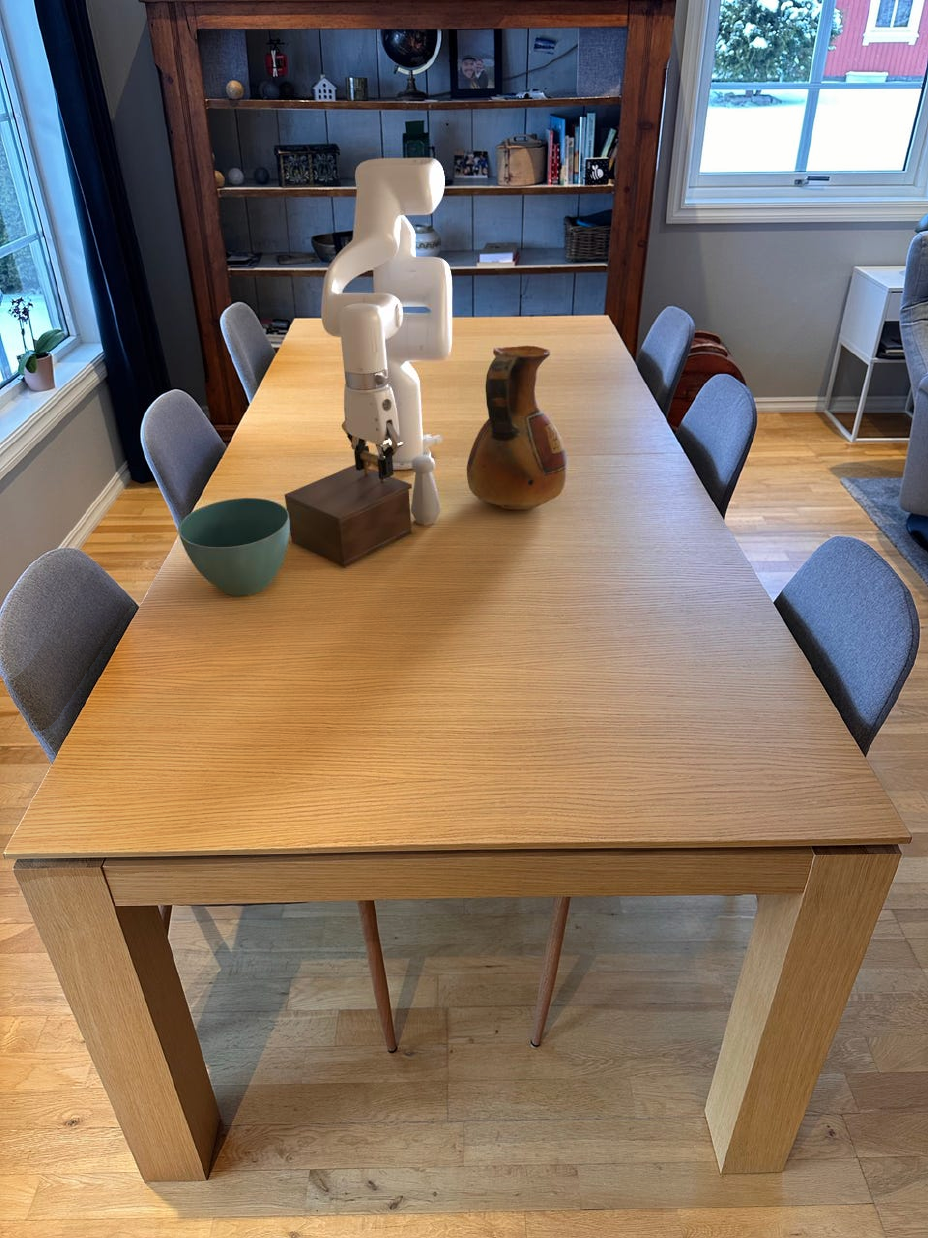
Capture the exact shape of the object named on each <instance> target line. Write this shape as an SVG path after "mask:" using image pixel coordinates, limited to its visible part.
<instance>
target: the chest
mask: <svg viewBox="0 0 928 1238" xmlns="http://www.w3.org/2000/svg"><path fill="white" fill-rule="evenodd" d="M284 501H285V508H286V509H287V511H288V513H289V521H290V532H289V536H290V541H291V543H292V544H294V545H296V546H298V547H301V548H303V549H304V550H307V551H309V552H311V553H313V554H315V555H318V556H319V557H322V558H323V559H325V560H327V561H329V562H332V563H334V564H336V565H338V566H340V567H342V568H346V567H349V566H350V565H353V564H354V563H356V562H359V561H360V560H362V559H364V558H366V557H368V556H369V555H372V554H374V553H375V552H378V551H380V550H382V549H384V548H386V547H387V546H390V545H391V544H394V543H395V542H397V541H399V540H401V539H403V538H406V537H408V536H410V535H411V534H413V533H412V532H413V531H412V519H411V517H412V516H411V504H410V503H411V501H410V489H409V490H407V491H405V492H402V493H400V494H398V495H396V496H394V497H392V498H390V499H388V500H385V501H383V502H381V503H379V504H377V505H375V506H373V507H371V508H369V509H366V510H364V511H362V512H360V513H358V514H356V515H354V516H352V517H349V518H347V519H345V520H343V521H341V522H337V521H335V520H333V519H331V518H328V517H326V516H324V515H321V514H319V513H317V512H315V511H312V510H310V509H308V508H306V507H303V506H301V505H299V504H296V503H294V502H292V501H290V500H287V499H285V498H284Z"/></svg>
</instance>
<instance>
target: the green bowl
mask: <svg viewBox="0 0 928 1238" xmlns="http://www.w3.org/2000/svg"><path fill="white" fill-rule="evenodd" d="M177 531H178V535H179V539H180V541H181V544H182V546H183V548H184V551H185V553H186V555H187V557H188V558H189V560H190V562H191V564H193V566H194V567H195V569H196V570H197V571H198V572H199V574H200V575H201V576H202V577H203V578H204V579H205V580H206V581H208V582H209V583H210V585H212V586H214V587H215V588H217V589H219V591H222V592H223V593H225V594H227V595H229V596H235V597H246V596H252V595H254V594H258V593H260V592H262V591H264V590H265V589H266V588H267V587H269V585H270V584H272V582H273V580H275V578H276V576H277V575H278V573H279V572H280V570H281V568H282V566H283V563H284V561H285V558H286V555H287V553H288V552H287V551H288V547H289V542H290V521H289V513H288V511H287V508H286V506H284V505H282V504H280V503H279V502H277V501H274V500H270V499H265V498H259V497H240V498H239V497H238V498H232V499H226V500H225V499H224V500H220V501H217V502H213V503H209V504H207V505H205V506H201V507H199V508H198V509H195V510H194V511H191V512H190V513H189V514H188V515H186V516H185V517H184V518H183V519H182V520H181V521H180V523H179V525H178V529H177Z"/></svg>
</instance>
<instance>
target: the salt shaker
mask: <svg viewBox="0 0 928 1238" xmlns="http://www.w3.org/2000/svg"><path fill="white" fill-rule="evenodd" d="M435 467H436V463H435V459H434V458H433V457H432V456H431V457H430V456H417V457H415V458H414V459H413V460H412V469H411V470H412V471H413V472H414V474H415V475H414V483H413V489H412V490H413V491H412V499H411V504H410V514H411V515H412V517H413V518H414V520H415V522H416V524H418V525H421V526H430V525H434V524H435V523H436V522H437V520H438V519H439V516H440V513H441V511H442V506H441V502H440V498H439V497H440V496H439V494H438V490H437V485H436V481H435V477H434V474H433V472H434V469H435Z"/></svg>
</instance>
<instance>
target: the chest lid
mask: <svg viewBox="0 0 928 1238" xmlns="http://www.w3.org/2000/svg"><path fill="white" fill-rule="evenodd" d="M360 458H361V460H363V463H364V469H362V470H360V471H358V470H356V465H355V464H352V465H350V466H348V467H346V468H343V469H341V470H339V471H337V472H333V473H332V474H329V475H327V476H325V477H322V478H320V479H318V480H315V481H313V482H310V483H308V484H306V485H304V486H301V487H299V488H296V489H294V490H292V491H289V492H288V493H285V494H284V500H285V499H287V500H290V501H292V502H294V503H296V504H299V505H301V506H303V507H306V508H308V509H310V510H312V511H315V512H317V513H319V514H321V515H324V516H326V517H328V518H331V519H333V520H335V521H337V522H341V521H343V520H345V519H347V518H349V517H352V516H354V515H356V514H358V513H360V512H362V511H364V510H366V509H369V508H371V507H373V506H375V505H377V504H379V503H381V502H383V501H385V500H388V499H390V498H392V497H394V496H396V495H398V494H400V493H402V492H405V491H407V490H409V491H410V490H411V489H412V488H413V486H412V485H413V484H412V483H409V482H407V481H404V480H402V479H399V478H396V477H393V476H390V477H387V478H385V479H383V480H381V479H379V473H378V470H375V469H373V468H370V466H369V464H368V462H369V463H370V464H372V465H374V466H377V467H378V459H380V457H379V456H378V455H375V453H373V452H370V451H369V452H367V451H362V452H361V454H360Z"/></svg>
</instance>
